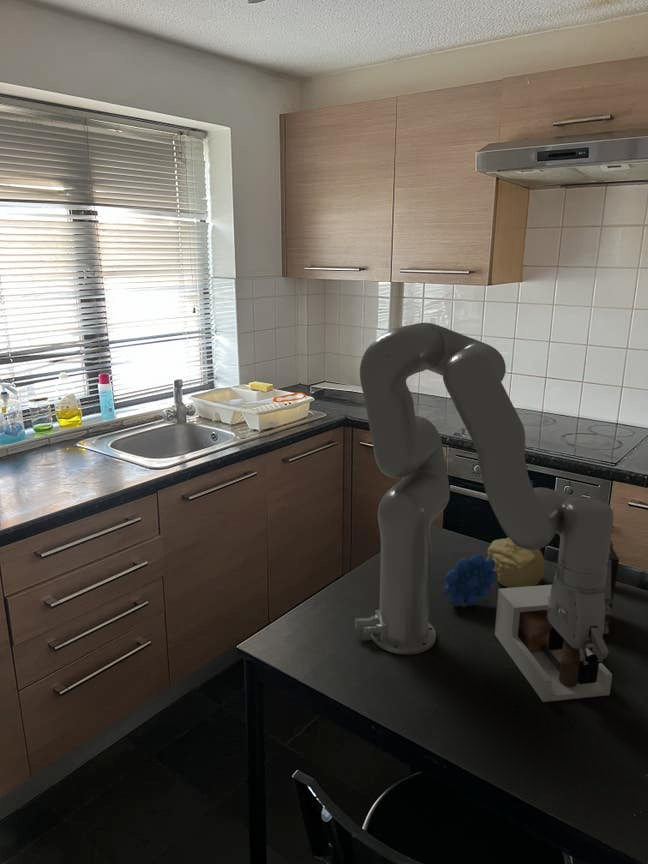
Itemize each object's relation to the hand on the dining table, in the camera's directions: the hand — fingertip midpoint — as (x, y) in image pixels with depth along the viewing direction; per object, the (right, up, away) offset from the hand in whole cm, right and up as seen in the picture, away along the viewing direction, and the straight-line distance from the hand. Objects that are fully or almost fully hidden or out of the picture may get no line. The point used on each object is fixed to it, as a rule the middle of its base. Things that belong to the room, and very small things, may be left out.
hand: (571, 664), depth 110 cm
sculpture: (+1, +5, +37) cm, 37 cm away
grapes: (-11, +3, +28) cm, 30 cm away
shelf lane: (-1, -3, +8) cm, 8 cm away
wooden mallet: (-1, -1, +7) cm, 8 cm away
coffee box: (+12, +1, +22) cm, 25 cm away
